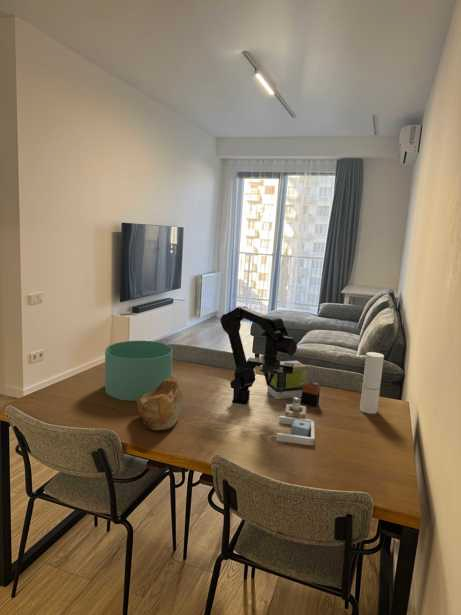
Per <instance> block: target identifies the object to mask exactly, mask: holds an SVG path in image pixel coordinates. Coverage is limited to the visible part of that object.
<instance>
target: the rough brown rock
mask: <svg viewBox="0 0 461 615" xmlns="http://www.w3.org/2000/svg"><path fill="white" fill-rule="evenodd" d="M182 401H183V390H182V389H181V386H180V382H179V380H178V379H177V378H175V377H174V376H173V375H172V376H170V377H169V378H168V379H166V380H164V381H163V382H162V383H161V384H160V385H159V386H158V387H157V388H156V389H155V390H153V391H151V392H149V393H146V394H144V395H142V396H141V397H140V398H139V399H138V400H137V401H136V404H137V409H138V412H139V415H140V416H141V419H142V422H143V425H144V427H146V429H147V430H153V431H166V430H168V429H169V430H170V429H171V428H172V427H174V426H175V425H176V423H177V420H178V418H179V416H180V414H181V404H182Z"/></svg>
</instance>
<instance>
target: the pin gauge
mask: <svg viewBox="0 0 461 615" xmlns="http://www.w3.org/2000/svg"><path fill="white" fill-rule="evenodd" d="M301 399H302V398H301V397H293V398H292V403H291V405H292V411H295V412H299V410H300V406H301Z"/></svg>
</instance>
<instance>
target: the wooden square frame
mask: <svg viewBox="0 0 461 615" xmlns="http://www.w3.org/2000/svg"><path fill="white" fill-rule="evenodd" d="M306 415H307V405H300V410H299V412H295V411H292V403H291V404H289V403H286V405H285V413H284V416H286V417H294V418H302V419H307V418H306V417H307V416H306Z"/></svg>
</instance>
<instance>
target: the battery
mask: <svg viewBox="0 0 461 615" xmlns="http://www.w3.org/2000/svg"><path fill="white" fill-rule="evenodd" d="M320 395H321V384H319V383H318V382H310V381H308V380H306V382H305V383H304V384H303V388H302V397H301V398H300V399H301V400H300V404H302V405H304V406H310V407H312V408H313V407H314V408H316V407H317V406H318V405H319V404H320Z"/></svg>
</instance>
